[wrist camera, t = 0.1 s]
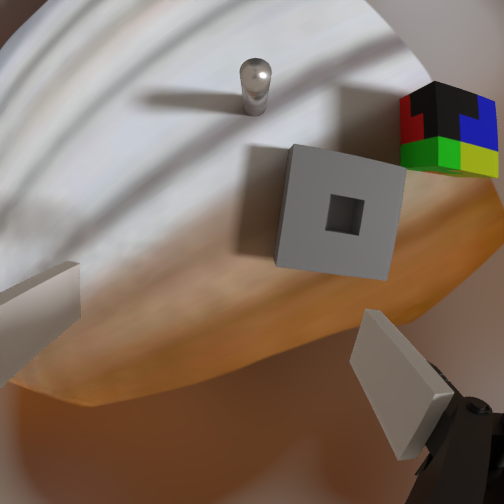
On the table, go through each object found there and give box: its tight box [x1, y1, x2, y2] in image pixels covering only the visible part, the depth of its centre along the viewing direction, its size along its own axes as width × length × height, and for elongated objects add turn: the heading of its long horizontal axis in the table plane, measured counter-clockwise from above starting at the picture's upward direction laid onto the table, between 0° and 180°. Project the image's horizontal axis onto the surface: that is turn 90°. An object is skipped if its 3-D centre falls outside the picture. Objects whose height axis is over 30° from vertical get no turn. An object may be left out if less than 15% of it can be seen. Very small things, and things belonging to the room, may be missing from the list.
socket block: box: [273, 144, 407, 281], centre depth 38 cm, size 14×14×5 cm
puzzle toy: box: [400, 81, 498, 178], centre depth 33 cm, size 10×10×10 cm
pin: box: [240, 58, 272, 116], centre depth 31 cm, size 3×3×13 cm
